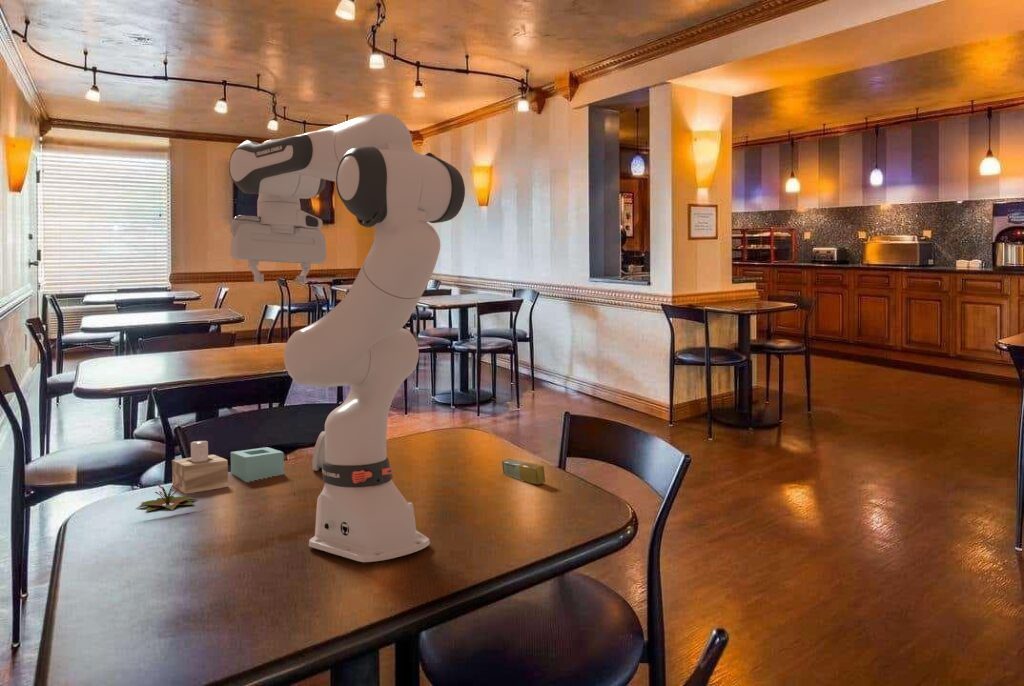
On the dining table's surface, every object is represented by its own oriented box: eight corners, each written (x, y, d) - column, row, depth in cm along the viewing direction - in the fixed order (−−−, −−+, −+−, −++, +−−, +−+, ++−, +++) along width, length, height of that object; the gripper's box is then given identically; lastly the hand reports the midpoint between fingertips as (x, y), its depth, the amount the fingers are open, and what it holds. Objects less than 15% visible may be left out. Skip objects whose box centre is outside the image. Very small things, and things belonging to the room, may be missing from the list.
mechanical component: (321, 466, 174) (327, 427, 174) (338, 469, 174) (344, 430, 174) (308, 475, 164) (314, 434, 164) (326, 478, 164) (333, 437, 164)
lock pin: (211, 482, 155) (210, 442, 155) (194, 484, 153) (193, 444, 152) (205, 479, 158) (204, 440, 157) (189, 482, 155) (188, 442, 155)
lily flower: (137, 518, 132) (136, 494, 132) (131, 504, 142) (130, 482, 142) (205, 508, 139) (204, 485, 139) (195, 496, 149) (194, 475, 149)
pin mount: (228, 486, 155) (227, 460, 155) (185, 493, 149) (185, 466, 149) (213, 479, 162) (213, 454, 161) (172, 486, 156) (171, 460, 155)
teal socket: (283, 477, 164) (283, 452, 164) (245, 483, 158) (245, 457, 157) (268, 471, 170) (267, 447, 170) (231, 477, 164) (230, 452, 164)
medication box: (502, 477, 163) (501, 460, 163) (511, 474, 165) (509, 458, 164) (537, 485, 154) (536, 467, 154) (546, 482, 156) (544, 464, 155)
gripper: (236, 212, 139) (237, 281, 140) (329, 221, 153) (330, 283, 154) (224, 215, 144) (226, 282, 144) (315, 224, 158) (317, 285, 158)
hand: (280, 283), depth 149 cm, fingers open, 8 cm apart
